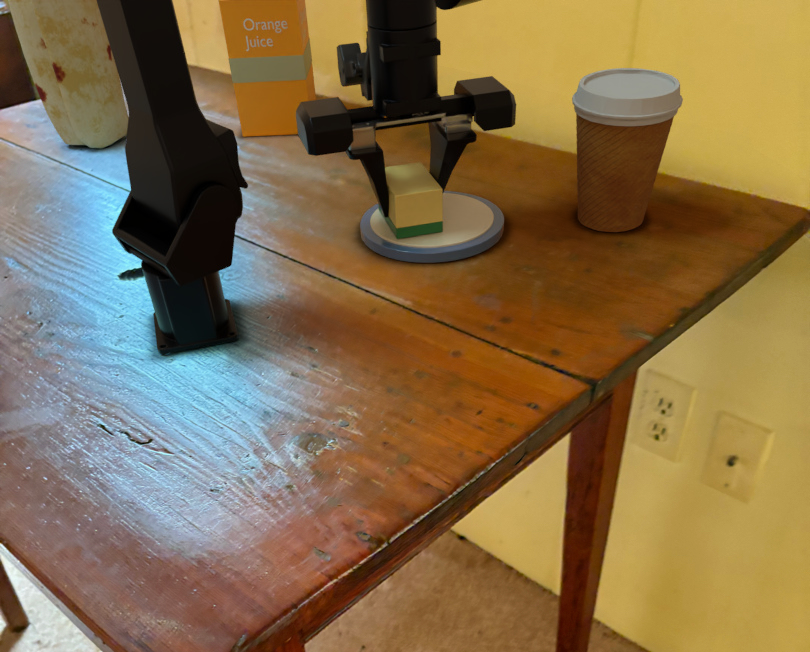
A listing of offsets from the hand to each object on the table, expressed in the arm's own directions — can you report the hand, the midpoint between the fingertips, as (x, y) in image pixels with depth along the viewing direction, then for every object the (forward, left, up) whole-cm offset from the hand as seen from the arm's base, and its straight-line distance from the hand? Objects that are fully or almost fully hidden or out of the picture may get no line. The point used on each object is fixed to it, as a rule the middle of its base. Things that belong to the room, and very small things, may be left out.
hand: (409, 211), depth 77 cm
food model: (+39, +30, -2) cm, 49 cm away
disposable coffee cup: (-4, -19, -2) cm, 20 cm away
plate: (0, -2, -2) cm, 3 cm away
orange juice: (+36, +7, -2) cm, 37 cm away
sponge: (0, 0, -1) cm, 1 cm away
